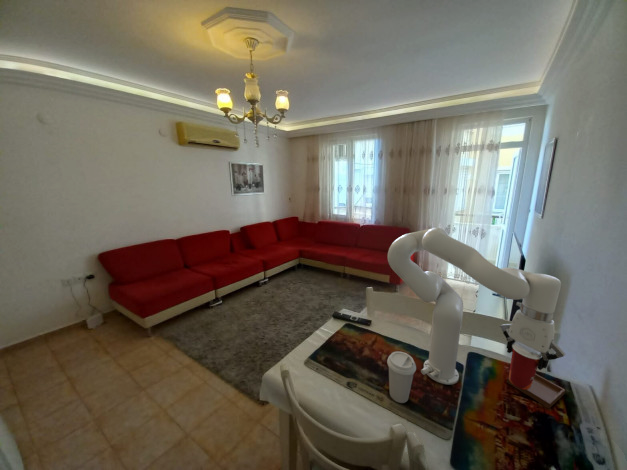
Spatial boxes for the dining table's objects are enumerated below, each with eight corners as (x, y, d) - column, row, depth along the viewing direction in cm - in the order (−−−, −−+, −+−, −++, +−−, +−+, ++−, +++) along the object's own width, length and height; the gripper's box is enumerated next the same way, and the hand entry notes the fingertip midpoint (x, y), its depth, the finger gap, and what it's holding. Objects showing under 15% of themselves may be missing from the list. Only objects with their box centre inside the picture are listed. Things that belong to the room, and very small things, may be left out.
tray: (548, 408, 80) (550, 403, 79) (506, 382, 91) (507, 378, 90) (564, 394, 85) (565, 389, 85) (522, 371, 96) (523, 366, 95)
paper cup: (540, 394, 77) (550, 357, 74) (513, 390, 78) (521, 353, 75) (524, 375, 84) (532, 341, 81) (500, 371, 86) (507, 338, 83)
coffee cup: (399, 411, 79) (402, 373, 76) (379, 390, 88) (381, 355, 84) (419, 399, 84) (422, 363, 80) (398, 380, 92) (400, 346, 89)
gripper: (499, 302, 81) (490, 346, 85) (569, 330, 66) (554, 382, 70) (510, 298, 85) (501, 340, 89) (580, 323, 70) (565, 374, 73)
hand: (525, 359), depth 79 cm, fingers closed on paper cup, 7 cm apart
